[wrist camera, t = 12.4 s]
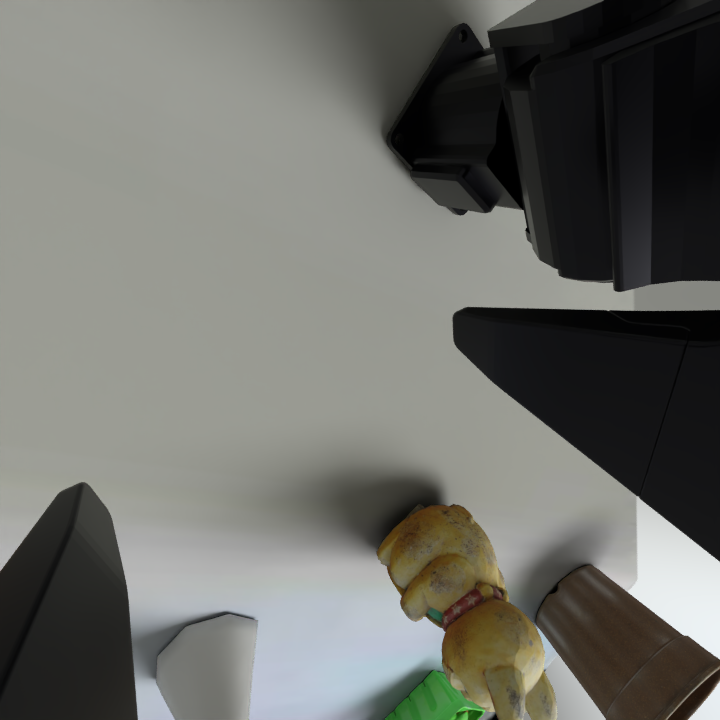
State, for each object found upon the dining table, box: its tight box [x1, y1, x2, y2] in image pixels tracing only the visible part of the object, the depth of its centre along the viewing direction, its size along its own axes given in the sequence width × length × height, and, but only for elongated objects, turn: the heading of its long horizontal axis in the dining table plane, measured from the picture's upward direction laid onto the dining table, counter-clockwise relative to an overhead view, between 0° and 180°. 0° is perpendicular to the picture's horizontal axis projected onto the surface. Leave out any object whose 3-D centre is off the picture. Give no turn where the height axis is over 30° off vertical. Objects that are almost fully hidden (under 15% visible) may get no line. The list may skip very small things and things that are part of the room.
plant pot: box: [536, 565, 720, 720], centre depth 53 cm, size 16×16×16 cm
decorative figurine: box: [377, 504, 557, 720], centre depth 29 cm, size 10×8×15 cm
